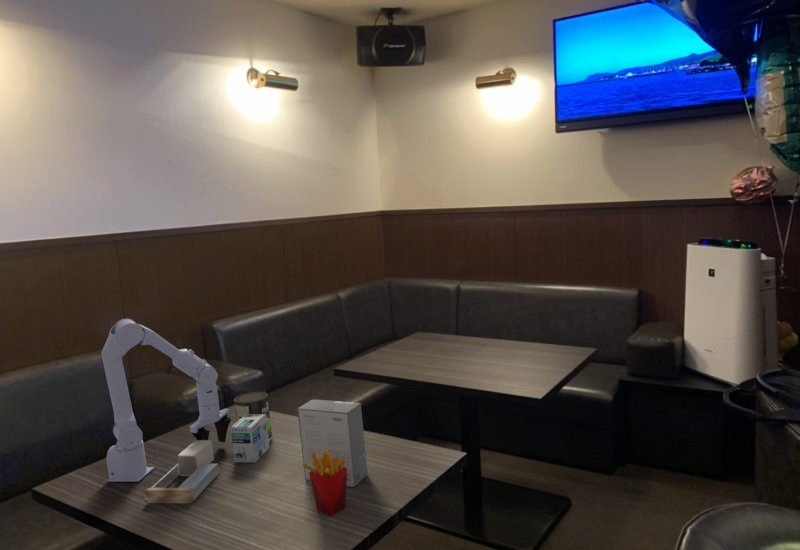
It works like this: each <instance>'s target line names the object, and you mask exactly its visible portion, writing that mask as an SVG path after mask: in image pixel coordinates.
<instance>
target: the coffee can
mask: <svg viewBox="0 0 800 550" xmlns="http://www.w3.org/2000/svg"><path fill="white" fill-rule="evenodd" d="M233 402H234V408H235V414H236V415H235V416H236V422H238V421H239V420H240V419H241V418H242V417H243V416H244V415H245V414H266V420H267V430H268V439H269V442H270V441H271V440H272V439H273V435H272V434H273V433H272V425H271V416H270V404H269V395H268V393H267V392H266V391H265V392H264V391H251V392H245V393H242V394H239V395H237V396H236V397H234V399H233Z"/></svg>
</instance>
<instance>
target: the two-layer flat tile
mask: <svg viewBox="0 0 800 550" xmlns="http://www.w3.org/2000/svg"><path fill="white" fill-rule="evenodd" d="M219 474H220V467H219V463H210V464H202V465H201V466H200V467H199V468H198V469H197V470H196V471H195V472H194V473H193V474H192V475H190V476H187V478H186V479H185V480H184V481H183V482H182V483H181V484H180V485H179V486H178V487H177V488H192V492H193V500H194V501H195V500H196V499H197V498H198V497H199V496H200V494H201V493H202V492H203V491H204V490H205V489H206V488H207V487H208V486H209V485H210V484H211V482H213V481H214V480H215V479H216V477H218V475H219Z"/></svg>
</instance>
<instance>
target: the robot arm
mask: <svg viewBox="0 0 800 550" xmlns="http://www.w3.org/2000/svg"><path fill="white" fill-rule="evenodd" d="M138 344H140V345H141V346H146V345H147V346H149V345H150V346H152V347H153V348H155V349H157V350H159V352H160V353H163V354H165V355H166V356H167V357H169V358H170V359H171V360H172V365H173V366H174V367H175V368H177V370H180V371H182V372H183V373H185V374H186V375H187V376H188V377H192V378H193V380H195V384H196V396H197V403H198V404H197V405H198V410H199V416H198V419H197V420H196V421H195V422H194V423H193V424H191V425H190V426H189V432H190V433H191V434H192V436H194V438H195V440H209V437H210V432H211V431H210V430H207V429H206V427H208V426H210V425H212V424H214V427H215V430H216V435H217V440H218V442H219V443H226V441H227V433H228V429H229V425H230V424H231V422H232V421H231V420H232V419H231V417H229V416H231V412H230V409H229V408H223V409H221V410H220V405H219V404H220V403H219V395H218V387H217V380H218V377H219V374H218V373H217V370H216V368H214V367H213V366H212V365H210V364H209V363H208V362H207V360H206V359H204V358H201V357H199V356H197V355H196V354H195V351H194V350H193V349H190V348H189V349H187V348H181V349H178V348H177V347H176V346H175V345H173V344H171V343H170V342H169V341H168V340H167V339H165V338H163V336H160V335H159V334H158V333H156V332H155V331H154V330H152V329H150V328H149V327H146V326H145V325H143V324H140V323H136V322H135V321H134V320H133V319H130V318H122V319H120V320H118V321H117V322H116V323H115V324H114V325H113V326H112V327H111V328H110V329H109V333H108V336H107V338H106V341H105V343H104V345H103V347H102V349H101V360H102V363H103V369H104V372H105V377H106V383H107V387H108V391H109V395H110V400H111V404H112V405H111V406H112V410H113V419H114V420H113V421H114V425H113V428H112V433H113V435H114V437H115V439H116V443H115V445H112V446H110V447H109V449H108V450H107V453H106V465H107V472H108V479H107V482H109V483H111V482H115V483H117V482H118V483H119V482H120V483H121V482H122V483H123V482H124V483H126V482H127V483H128V482H133V483H134V482H136V483H137V482H140V481H141V480H142V479H143V478H145V477H146V476H147V475H148V474H150V472H152V471H153V470H154V469H155V468H154V466H147V459H146V458H147V457H146V452H145V445H144V444H145V443H144V440H143V431H142V430H141V428H140V427H139V426H138V425H137V420H136V417H135V415H134V411H133V407H132V401H131V398H130V392H129V387H128V381H127V377H126V372H125V367H124V363H123V357H124V356H125V355H127V353H128V351H129V350H131V349H132V348H134V347H135V346H137V345H138Z"/></svg>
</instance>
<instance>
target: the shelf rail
mask: <svg viewBox="0 0 800 550" xmlns="http://www.w3.org/2000/svg"><path fill="white" fill-rule="evenodd" d="M145 495H146V496H145V498H147V501H146V503H147V504H192V503H194V501H195V500H193V492H192V488H178V487H166V488H151V487H147V488H146V489H145Z"/></svg>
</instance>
